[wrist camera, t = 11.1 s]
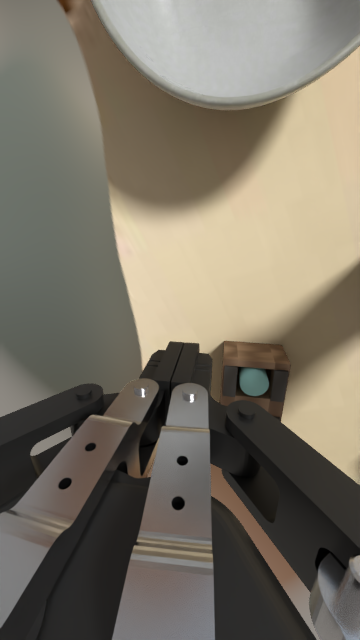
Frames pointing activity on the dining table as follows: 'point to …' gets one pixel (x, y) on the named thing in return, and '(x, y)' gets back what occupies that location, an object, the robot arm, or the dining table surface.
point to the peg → (253, 380)
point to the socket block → (255, 357)
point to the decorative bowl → (232, 45)
